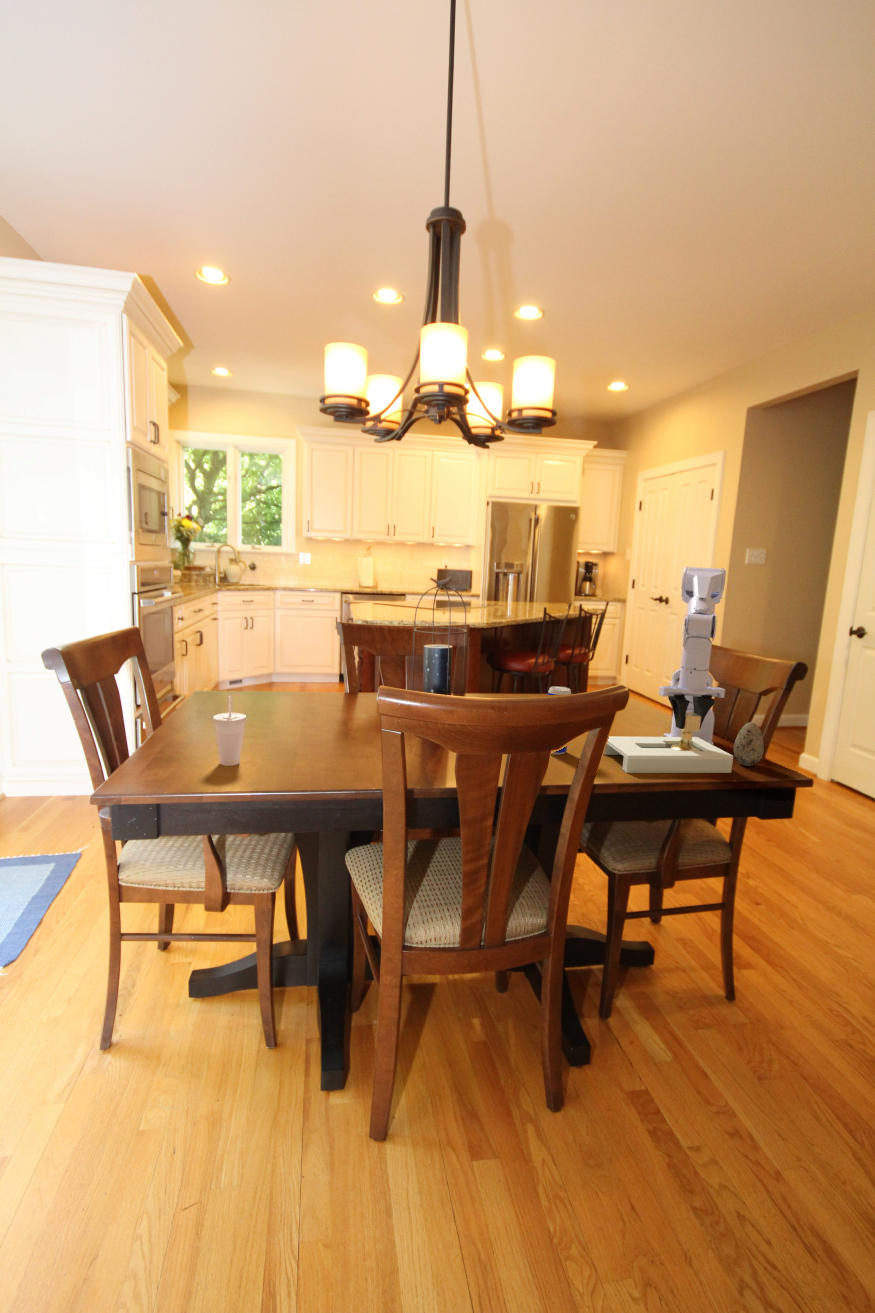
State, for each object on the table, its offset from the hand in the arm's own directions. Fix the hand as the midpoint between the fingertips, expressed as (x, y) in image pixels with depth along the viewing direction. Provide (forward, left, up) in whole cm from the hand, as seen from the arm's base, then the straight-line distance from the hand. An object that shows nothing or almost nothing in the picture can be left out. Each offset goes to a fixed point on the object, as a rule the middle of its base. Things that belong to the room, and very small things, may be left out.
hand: (687, 727), depth 136 cm
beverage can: (+28, -7, -8) cm, 30 cm away
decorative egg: (-14, +2, -8) cm, 16 cm away
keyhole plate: (+5, 0, -8) cm, 9 cm away
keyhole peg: (0, 0, -6) cm, 6 cm away
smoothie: (+99, +1, -8) cm, 99 cm away
